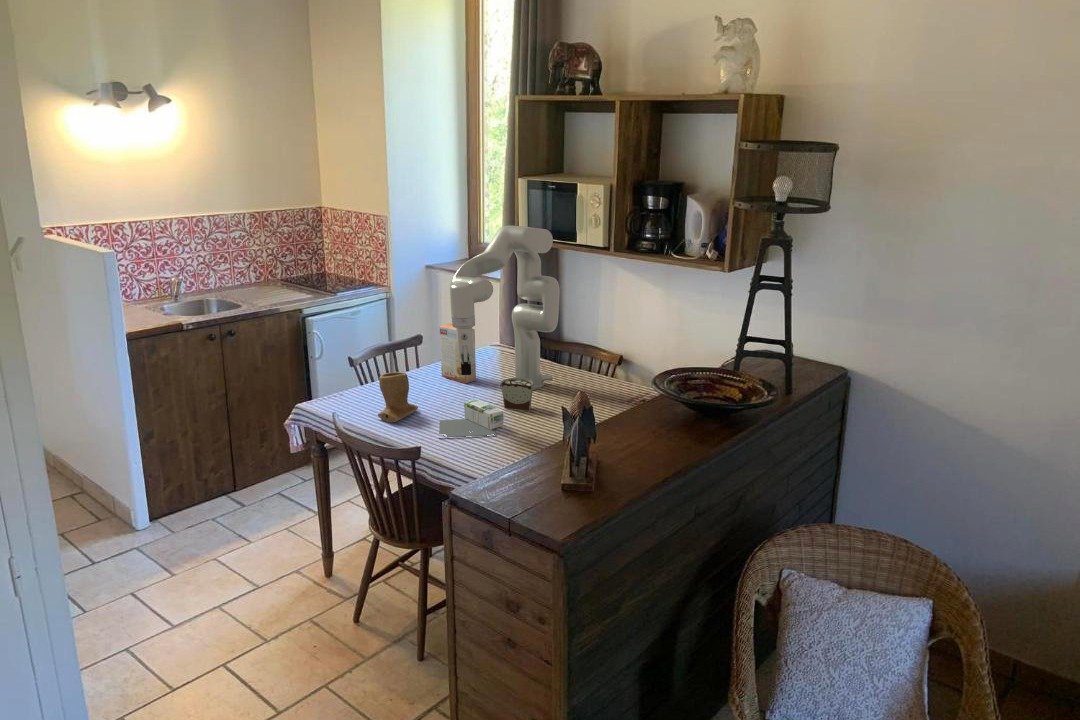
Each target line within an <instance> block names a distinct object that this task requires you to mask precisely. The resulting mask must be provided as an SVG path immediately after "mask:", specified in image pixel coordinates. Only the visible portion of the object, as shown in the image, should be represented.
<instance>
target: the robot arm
mask: <svg viewBox="0 0 1080 720" xmlns="http://www.w3.org/2000/svg"><path fill="white" fill-rule="evenodd" d="M553 242H554V239H553V234H552V233H551V231H549V229H546V228H537V227H532V226H531V227H530V226H522V225H503V226H501V227H500V228H498V230H497V231H496V233H495V234H494V236H493V238H492V239H491V240H490V242H489V243H488V245H487V246H486V248H485V249H484V251H483V252H481V253H480V254H478V255H475V256H474V257H472V258H470V259H469V260H467V261H465V262H464V263H463V264H462V265H461V266H460V267H459V268H458V270H457V271H456V272H455V274H454V276H453V277H452V279H451V281H450V285H449V296H450V297H449V298H450V313H451V314H450V315H451V316H450V317H451V324H452V327H454V328H456V337H457V346H458V352H459V357H461V361H462V362H461V374H462V375H471V362H470V356H472V357H473V356H474V345H473V329H474V328H473V327H475V326H476V314H475V313H476V312H475V304H477V303H483V302H486V301H488V300H489V299H490V298H491V297H492V295H493V293H494V286H493V284H492V282H491V280H489V279H486V278H482V277H481V278H480V276H484V275H487V274H492V273H494V272H498V271H500V270H503V269H504V267H506V265H507V263H508V262H509V260H510V259H511V256H513V253H514V254H515V256H516V260H517V280H516V281H517V282H516V284H517V285H516V291H517V292H516V293H517V296H518V297H519V298H520V299H522V300H525V301H529V302H530V301H531V302H539V303H542V305H540V304H535V303H534V304H532V303H525V302H524V303H518V304H517V305H515V306H514V307H513V308H512V310H511V321H512V327H513V333H514V370H515V371H514V374H515V376H514V378H525V379H529V380H531V381H532V382H533V385H534V390H535V391H536V390H538V389H541V388H543V387H544V386H545V382H546V381H547V382H549V381H550V382H551V381H553V379H554V378H553V375H549V374H542V373H541V339H540V337H539V334H538V332H542V333H551V332H554V331H555V330H556V328H557V326H558V322H559V315H560V314H559V313H560V312H559V311H560V297H561V296H560V294H561V293H560V292H561V291H560V285H559V281H558V280H557V278H555V277H553V276H549V275H548V276H547V275H543V274H542V260H541V257H540V255H539V254H546V253H548V252H549V251H550V250H551V248H552V247H553ZM534 390H533V388H532V391H534Z"/></svg>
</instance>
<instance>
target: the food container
mask: <svg viewBox="0 0 1080 720" xmlns="http://www.w3.org/2000/svg"><path fill="white" fill-rule="evenodd" d="M499 387H500V388H501V390H502V400H503V408H507V409H506V410H512V409H516V411H521V410H525V411H524V412H529V411H530V412H531V406H532V397H533V396H532V395H533V391H534V385H533V382H532V381H531V380H529V379H525V378H515V377H509V378H506V379H503V380H501V382H500V385H499ZM532 388H533V390H532Z"/></svg>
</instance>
